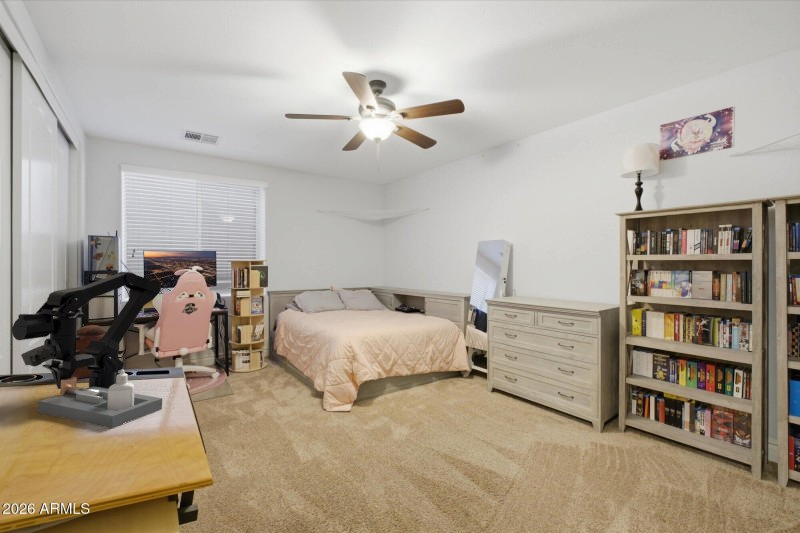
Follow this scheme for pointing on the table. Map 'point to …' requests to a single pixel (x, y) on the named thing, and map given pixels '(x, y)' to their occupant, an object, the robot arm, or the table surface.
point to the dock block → (97, 408)
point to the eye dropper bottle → (120, 393)
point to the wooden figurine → (85, 337)
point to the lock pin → (70, 387)
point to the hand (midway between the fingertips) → (61, 388)
